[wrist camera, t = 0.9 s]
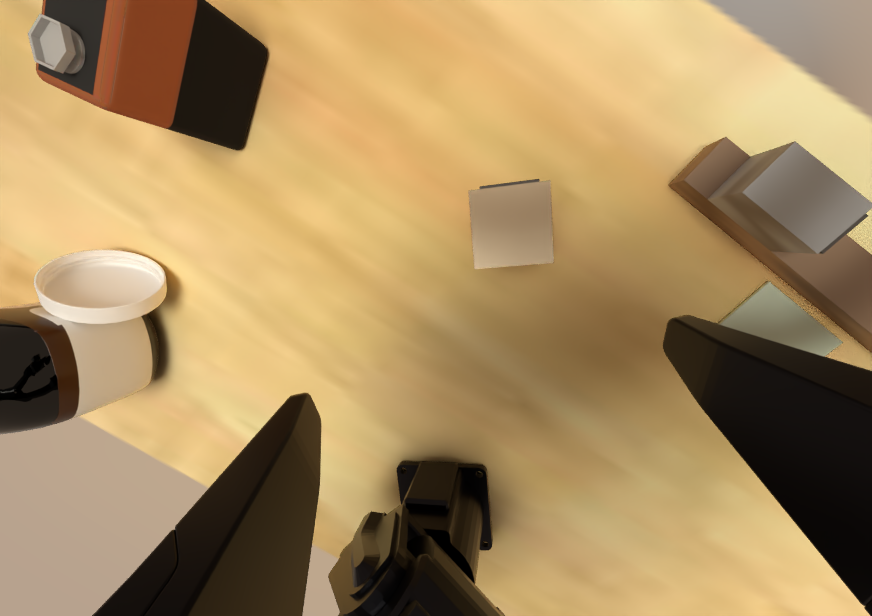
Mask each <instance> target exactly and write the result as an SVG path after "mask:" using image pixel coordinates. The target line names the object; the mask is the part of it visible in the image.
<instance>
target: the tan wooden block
mask: <svg viewBox="0 0 872 616" xmlns="http://www.w3.org/2000/svg"><path fill="white" fill-rule="evenodd" d="M469 204H470V217H471V230H472V243H473V256H474V269H484V268H496V267H509V266H522V265H535V264H548V263H554V255H553V230H552V206H551V181H550V180H548V181H541V182H539V179H535V180H527V181H519V182H511V183H504V184H496V185H488V186H480V189H478V190H470V191H469Z"/></svg>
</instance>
